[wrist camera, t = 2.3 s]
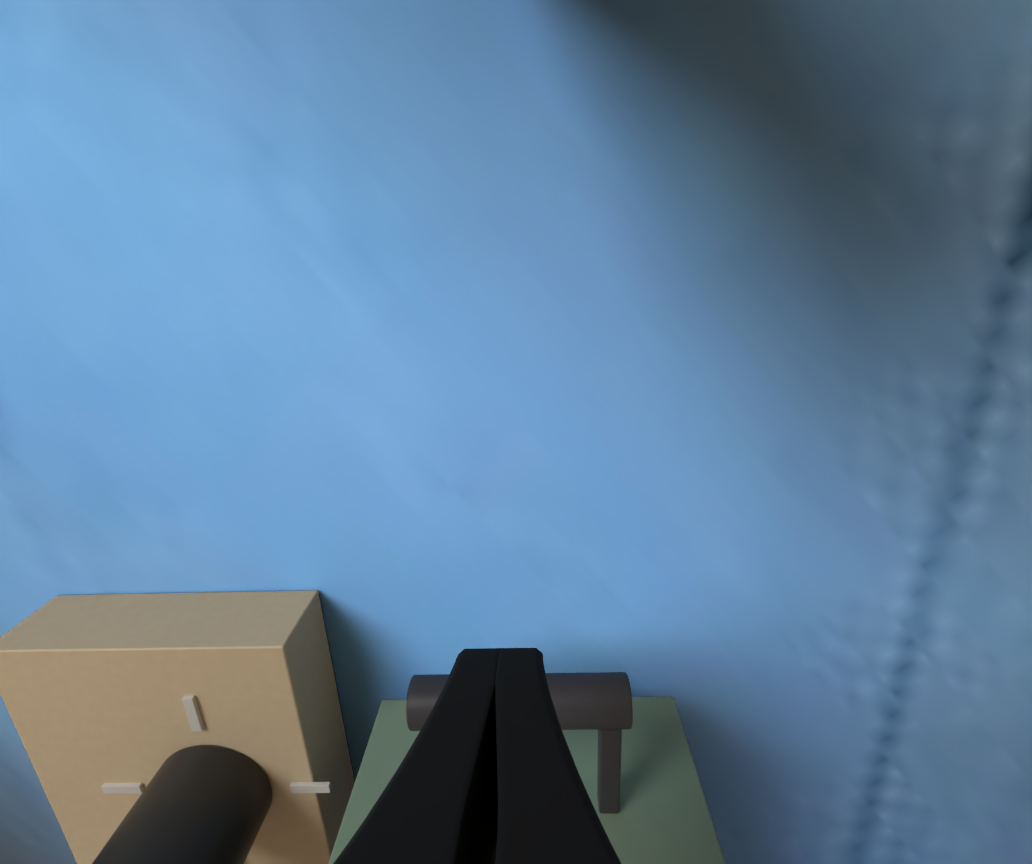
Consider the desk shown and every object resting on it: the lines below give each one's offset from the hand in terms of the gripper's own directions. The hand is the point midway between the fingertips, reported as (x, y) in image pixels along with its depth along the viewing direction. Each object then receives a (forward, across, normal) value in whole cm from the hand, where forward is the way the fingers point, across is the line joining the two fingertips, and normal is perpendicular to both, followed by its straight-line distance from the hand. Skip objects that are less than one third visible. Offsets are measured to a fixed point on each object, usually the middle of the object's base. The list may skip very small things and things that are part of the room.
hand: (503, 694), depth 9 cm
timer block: (+9, +12, +10) cm, 19 cm away
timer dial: (+6, +11, +10) cm, 16 cm away
